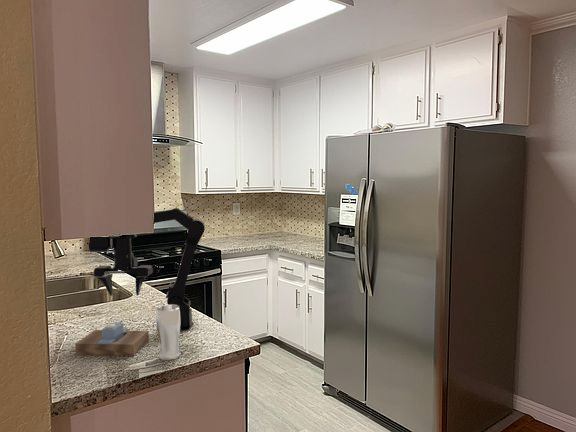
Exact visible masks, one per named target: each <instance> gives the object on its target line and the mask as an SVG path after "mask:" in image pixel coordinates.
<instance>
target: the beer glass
mask: <svg viewBox="0 0 576 432" xmlns="http://www.w3.org/2000/svg"><path fill="white" fill-rule="evenodd" d="M155 320H156V321H155V322H156V323H155V325H156V332H157V336H158V341H159V354H158V358H159V360H161V361H173V360H176V359H178V358H180V356H181V353H180V348H179V341H180V340H179V338H180V333H181V332H180V331H181V330H180V323H181V320H180V309H179V306H178V305H174V304H162V305H159V306H157V307H156V315H155Z"/></svg>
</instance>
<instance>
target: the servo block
mask: <svg viewBox="0 0 576 432" xmlns="http://www.w3.org/2000/svg"><path fill="white" fill-rule="evenodd" d="M101 330H102V337H103V338H102V339H101V340H100V341H98V344H111V343H113V342H117V341H118V340H120V339H121V338H122V337H123V336H124V333H125V332H126V331H129V329H128V328H124V322H110V323H108V324H106V326H104V327H103V328H102V329H101Z"/></svg>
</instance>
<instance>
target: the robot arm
mask: <svg viewBox="0 0 576 432" xmlns="http://www.w3.org/2000/svg"><path fill="white" fill-rule="evenodd" d="M167 221H168V222H169V221H175V222H177V223H178V224H179V225H180V226H183V227H184V228H185V229H187V236H186V243H185V247H184V251H183V254H182V257H181V261H180V265H179V268H178V271H177V276H176V278H175V281H174V283H171V282H170V283H169V285H168V291H167V292H166V295H165V299H166V303H167V304H166V305H168V304H174V305H178V306H179V309H180V320H181V323H180V331H181V330H182V331H183V330H185V331H188V330H190V329H191V328H192V326H193V325H194V322H193V312H192V311H193V310H192V308H191V300H190V299H188V298H187V297H186V296H185V294H186V293H185V292H186V284H187V279H188V276H189V273H190V269H191V267H192V263H193V260H194V259H193V258H194V257H195V252H196V249H197V246H198V245H199V243H200V241H201V239H202V237H203V234H204V233H205V224H204V222H203V221H202V220H201V219H199V218H193V217H192V216H190V215H189V214H188V213H185V212H184V211H182V209H180V208H178V207H174V208H170V209H167V210H160V211H154V223H153V224H156V223H162V222H167ZM137 237H138V235H137V233H135V234H133V235H122V236H119V235H112V236H109V237H89V242H88V249H89V252H90V253H103V252H105V253H106V252H109V251H110V249H113V254H112V255H111V257H112V259H114V260H113V261H114V263H113V264H114V266H112V265H99V266H97V267H95V268H94V269H93V277H94V278H97V279H98V280H100V281H101V283H102V284H103V286H104V287H105V288H106V291H107V292H108V294H109V295H110V296H111V297H112V296H113V294H114V290H113V279H112V278H113V274H114V275H115V274H118V275H119V274H136V276H135V293H136V296H139V295H140V291H141V289H142V286H143V283H144V282H145V279H146V278H147V277H149V276H150V275H151V274H153V273H154V269H153V266H152V265H150V264H141V265H139V266H138V262H139V258H138V257H136V256H134V252H132V251H133V250H132V239H135V238H137Z"/></svg>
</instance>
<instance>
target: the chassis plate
mask: <svg viewBox="0 0 576 432" xmlns="http://www.w3.org/2000/svg"><path fill="white" fill-rule="evenodd" d="M102 338H103V337H102V329H95V330H93V331H92V332H90V333H88V334H87V335H86V336H84V337H83V338H81V339H79V341H77V342H76V343H74V345H75V346H74V348H75V355H76V356H114V355H120V356H122V357H123V356H124V355H128V356H127V357H129V356H131V357H134V356H135V355H136V354H138V352H139V351H140V350H141V349H142V348H144V347H145V345H147V343H148V342H149V340H150V339H149V338H150V337H149V330H128V331H126V332H125V333H124V336H123V337H122V338H121V339H120V340H118V341H117V342H113V343H111V344H98V341H100V340H101V339H102Z"/></svg>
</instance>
